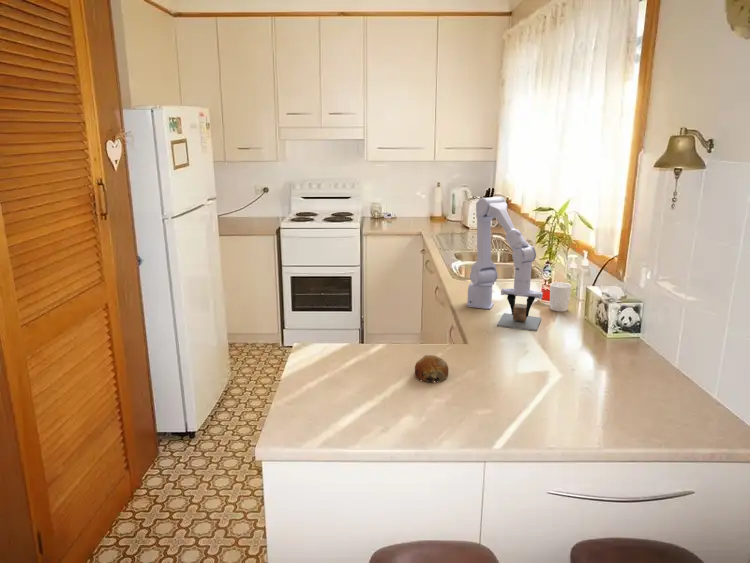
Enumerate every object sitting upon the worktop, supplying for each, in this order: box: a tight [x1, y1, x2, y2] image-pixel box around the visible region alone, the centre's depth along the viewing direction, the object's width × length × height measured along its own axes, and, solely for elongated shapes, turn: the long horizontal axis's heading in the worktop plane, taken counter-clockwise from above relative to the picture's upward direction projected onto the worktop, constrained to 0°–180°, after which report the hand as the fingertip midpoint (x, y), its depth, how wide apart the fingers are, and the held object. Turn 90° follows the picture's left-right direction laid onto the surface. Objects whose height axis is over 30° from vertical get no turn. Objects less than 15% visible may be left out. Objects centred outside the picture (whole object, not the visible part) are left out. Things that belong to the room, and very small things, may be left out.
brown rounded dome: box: [414, 354, 449, 383], centre depth 165 cm, size 10×10×8 cm
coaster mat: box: [496, 312, 542, 332], centre depth 209 cm, size 14×14×1 cm
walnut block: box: [513, 303, 527, 321], centre depth 208 cm, size 4×4×5 cm
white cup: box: [549, 281, 572, 312], centre depth 223 cm, size 8×8×10 cm
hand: (520, 315), depth 208 cm, fingers closed on walnut block, 4 cm apart
